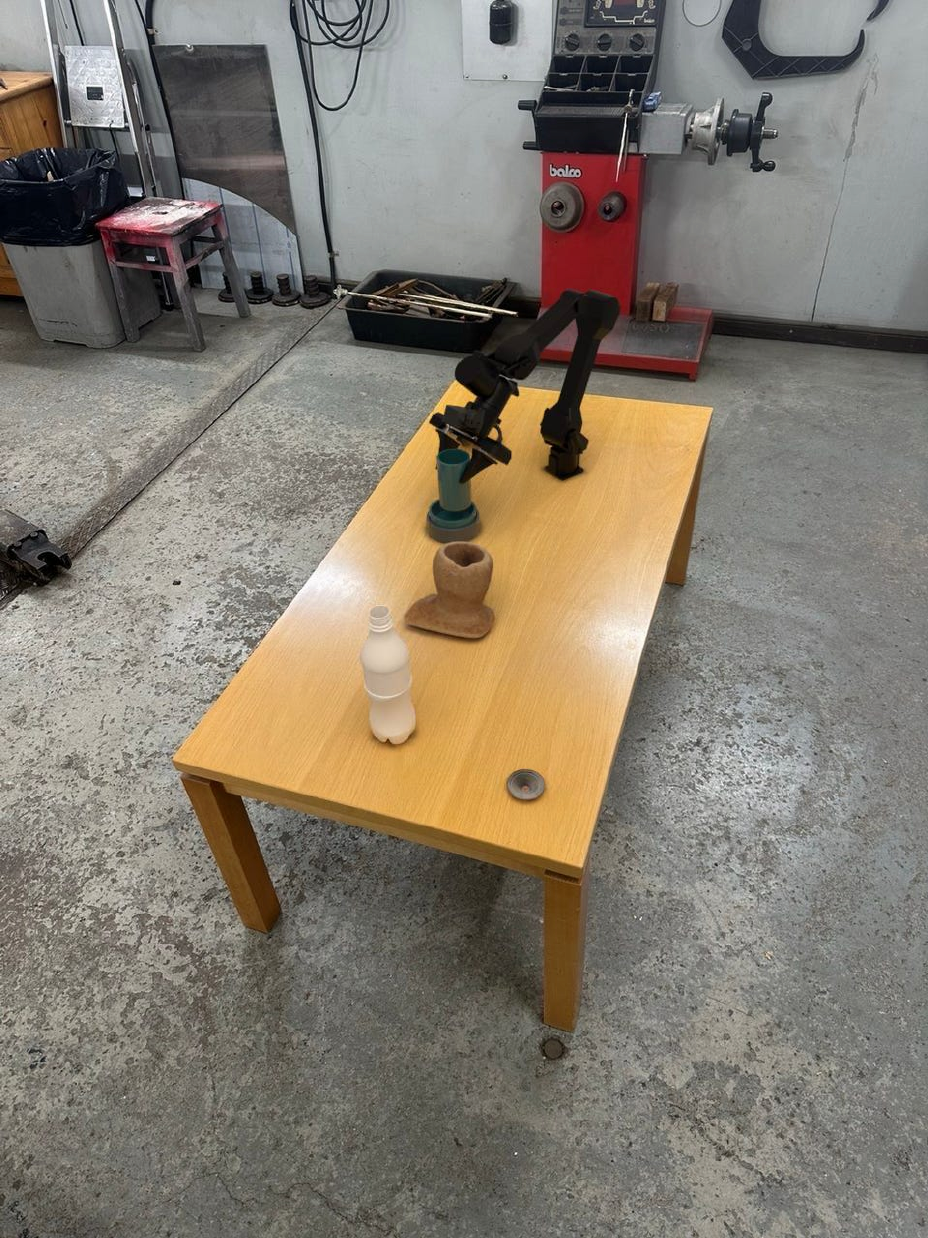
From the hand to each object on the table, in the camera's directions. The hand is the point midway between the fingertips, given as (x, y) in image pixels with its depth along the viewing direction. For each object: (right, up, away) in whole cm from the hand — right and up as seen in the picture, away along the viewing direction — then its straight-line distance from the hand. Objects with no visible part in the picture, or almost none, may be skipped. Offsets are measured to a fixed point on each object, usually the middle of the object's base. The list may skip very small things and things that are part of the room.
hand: (448, 476), depth 167 cm
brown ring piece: (+6, +12, +35) cm, 37 cm away
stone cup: (+1, -28, -12) cm, 31 cm away
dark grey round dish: (+12, -53, -41) cm, 68 cm away
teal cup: (+1, -4, +5) cm, 7 cm away
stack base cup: (+1, -9, +10) cm, 14 cm away
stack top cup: (+1, -9, +10) cm, 14 cm away
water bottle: (-8, -46, -32) cm, 57 cm away
